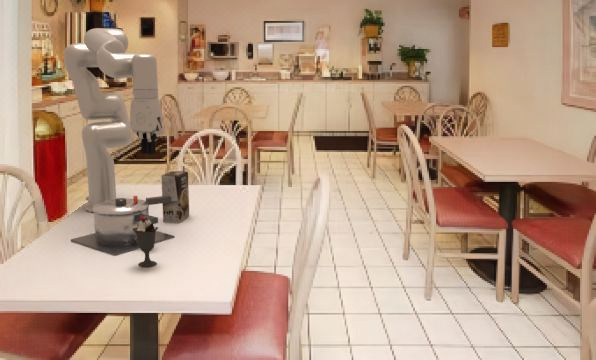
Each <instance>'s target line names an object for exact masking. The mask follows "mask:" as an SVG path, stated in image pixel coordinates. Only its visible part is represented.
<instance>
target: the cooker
mask: <svg viewBox="0 0 596 360" xmlns="http://www.w3.org/2000/svg"><path fill="white" fill-rule="evenodd" d="M141 213H142V214H141ZM141 213H140V212H138V213H134V214H127V215H102V214H97V213H95V212H93V220H94V233H89V234H86V235H82V236H77V237H73V238H71V239H70V242H72V243H74V244H78V245H81V246H83V247H84V246H85V247H87V248H89V249H90V248H91V249H93V250H96V251H99V252H103V253H105V254H108V255H111V256H119V255H122V254H126V253H129V252H131V251H132V252H133V251H136V250H138V249H139V250H140V248H139V245H138V241H137V236H136V233H135V232H134V231H133V228H136V227H137V224H138V223H139V222H140V218H141V217H142V215H143V217H145V218H146V219H149V220H150V221H151V223H153V225H156V224H159V217H158V216H157V217H156V216H153V215H149V213H150V212H149V208H148V209H147V210H145V211H142V212H141ZM172 239H175V235H173V234H170V233H165V232H161V231H158V230H156V235H155V244H158V243H161V242H165V241H168V240H172Z"/></svg>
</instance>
